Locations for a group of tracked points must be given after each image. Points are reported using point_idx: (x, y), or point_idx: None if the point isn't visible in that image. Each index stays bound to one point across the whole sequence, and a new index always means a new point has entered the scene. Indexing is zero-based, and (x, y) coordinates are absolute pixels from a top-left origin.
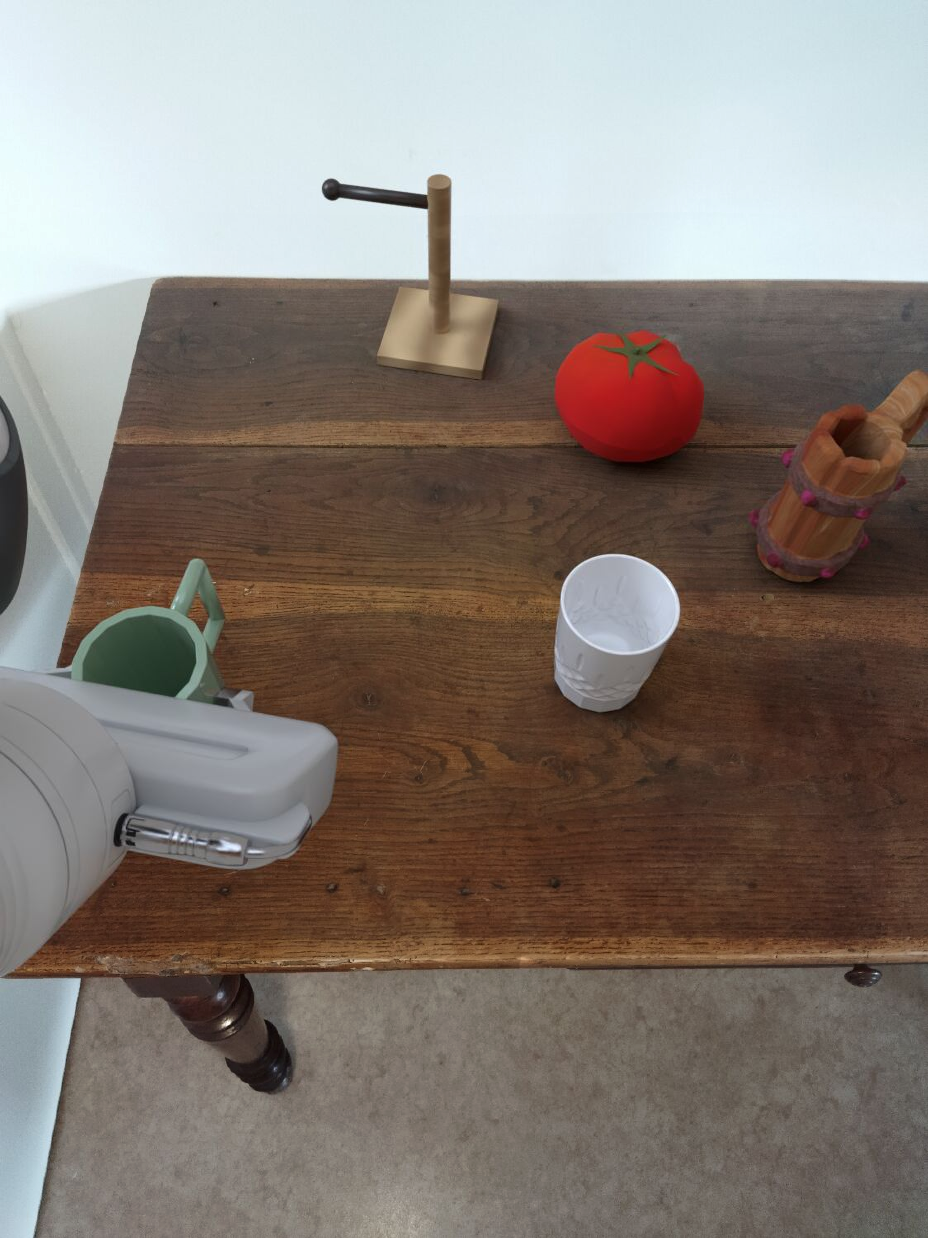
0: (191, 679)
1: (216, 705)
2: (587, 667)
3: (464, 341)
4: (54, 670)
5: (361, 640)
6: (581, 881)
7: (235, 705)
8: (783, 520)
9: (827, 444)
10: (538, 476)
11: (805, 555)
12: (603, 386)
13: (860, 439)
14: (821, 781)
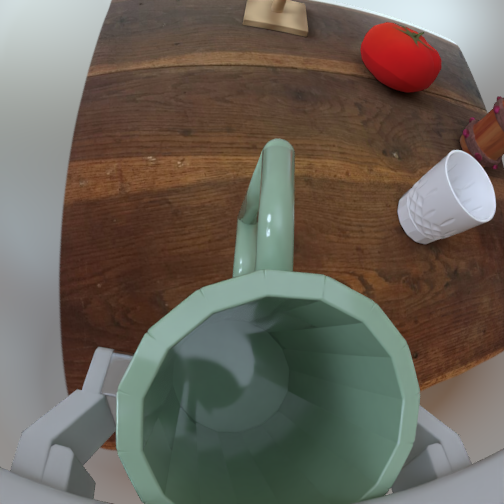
0: (403, 438)
1: (467, 478)
2: (450, 225)
3: (293, 17)
4: (70, 409)
5: None
6: (426, 350)
7: (423, 423)
8: (487, 138)
9: None
10: (355, 91)
11: (491, 157)
12: (404, 48)
13: None
14: (499, 272)
